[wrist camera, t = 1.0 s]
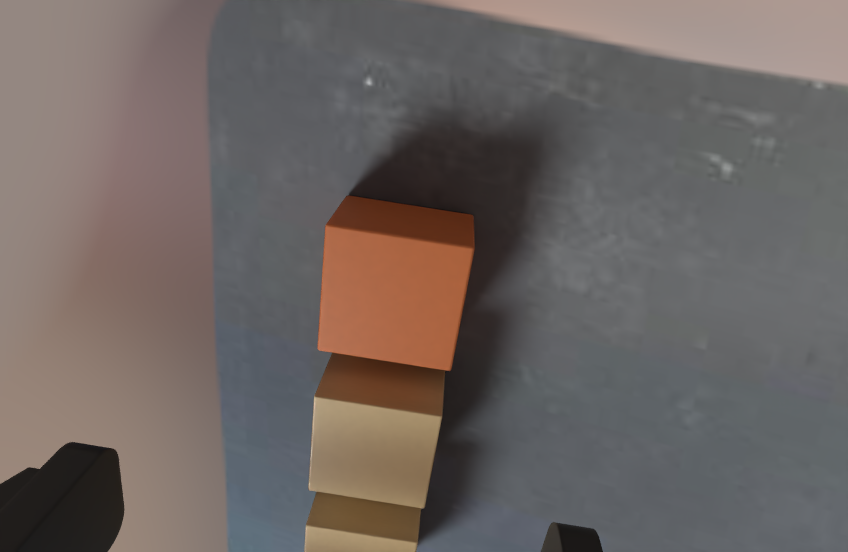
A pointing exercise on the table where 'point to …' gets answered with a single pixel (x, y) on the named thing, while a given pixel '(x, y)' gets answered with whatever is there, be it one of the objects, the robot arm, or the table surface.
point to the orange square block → (394, 282)
